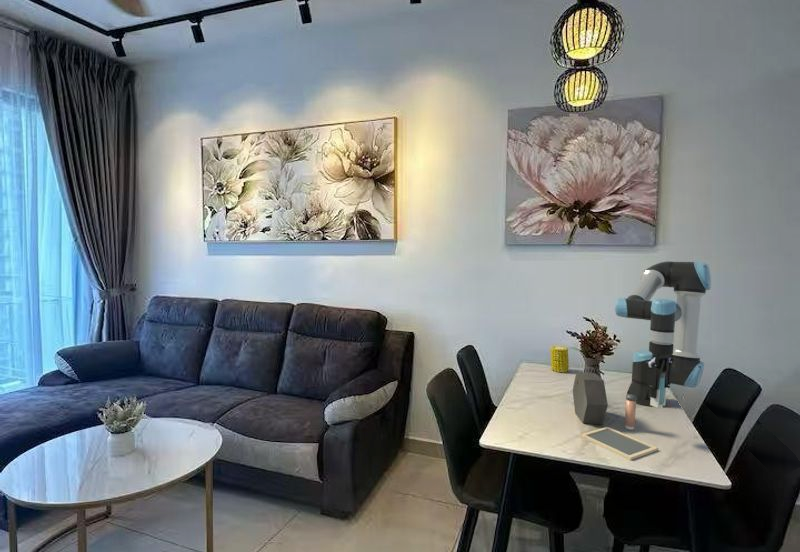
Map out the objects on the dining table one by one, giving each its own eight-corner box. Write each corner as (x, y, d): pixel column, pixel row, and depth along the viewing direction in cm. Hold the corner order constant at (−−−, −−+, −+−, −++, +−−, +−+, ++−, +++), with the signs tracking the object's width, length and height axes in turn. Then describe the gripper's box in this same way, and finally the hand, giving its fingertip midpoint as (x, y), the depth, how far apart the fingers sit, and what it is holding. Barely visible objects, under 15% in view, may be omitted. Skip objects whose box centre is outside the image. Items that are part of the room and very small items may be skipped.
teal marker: (655, 404, 157) (657, 370, 156) (665, 407, 154) (667, 372, 153) (650, 405, 156) (652, 371, 155) (659, 409, 153) (661, 374, 152)
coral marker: (628, 426, 167) (629, 393, 166) (636, 429, 164) (638, 396, 163) (622, 427, 165) (624, 395, 164) (631, 431, 162) (633, 398, 161)
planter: (610, 420, 160) (601, 366, 171) (588, 418, 161) (581, 365, 171) (596, 428, 175) (589, 378, 185) (576, 426, 176) (570, 377, 186)
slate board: (607, 428, 164) (607, 426, 164) (657, 450, 147) (658, 447, 147) (580, 436, 156) (580, 434, 156) (630, 460, 139) (630, 457, 139)
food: (571, 375, 239) (555, 376, 237) (559, 364, 250) (544, 366, 247) (575, 350, 234) (559, 352, 232) (563, 341, 245) (547, 342, 243)
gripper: (663, 337, 160) (660, 398, 162) (637, 342, 153) (634, 405, 154) (685, 342, 154) (681, 404, 156) (658, 347, 146) (654, 413, 148)
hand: (657, 405), depth 155 cm, fingers closed on teal marker, 3 cm apart
